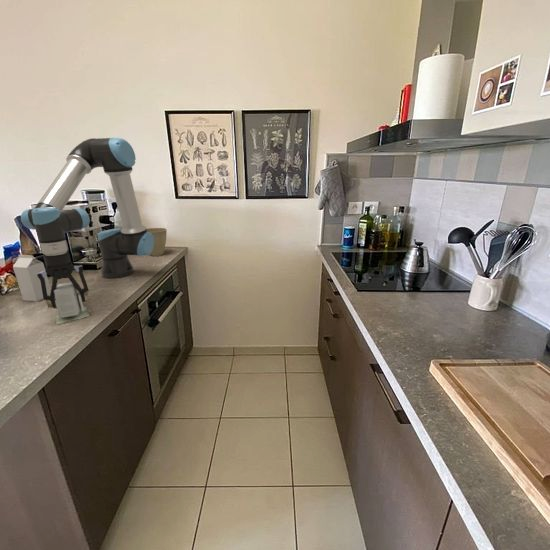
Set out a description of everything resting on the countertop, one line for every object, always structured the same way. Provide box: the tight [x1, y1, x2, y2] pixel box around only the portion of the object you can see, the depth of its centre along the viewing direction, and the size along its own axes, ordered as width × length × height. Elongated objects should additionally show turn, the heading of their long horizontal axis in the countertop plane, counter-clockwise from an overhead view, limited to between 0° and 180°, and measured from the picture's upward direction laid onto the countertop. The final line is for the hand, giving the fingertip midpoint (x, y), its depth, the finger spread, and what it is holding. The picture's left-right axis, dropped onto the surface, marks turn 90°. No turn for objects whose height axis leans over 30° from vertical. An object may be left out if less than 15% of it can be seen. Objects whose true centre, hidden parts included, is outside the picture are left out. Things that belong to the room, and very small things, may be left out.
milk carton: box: [12, 254, 51, 302], centre depth 126 cm, size 7×7×19 cm
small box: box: [54, 282, 81, 318], centre depth 111 cm, size 8×6×10 cm
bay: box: [45, 291, 90, 326], centre depth 116 cm, size 14×20×4 cm
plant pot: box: [146, 227, 168, 257], centre depth 190 cm, size 15×15×16 cm
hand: (71, 312), depth 112 cm, fingers closed on small box, 6 cm apart
